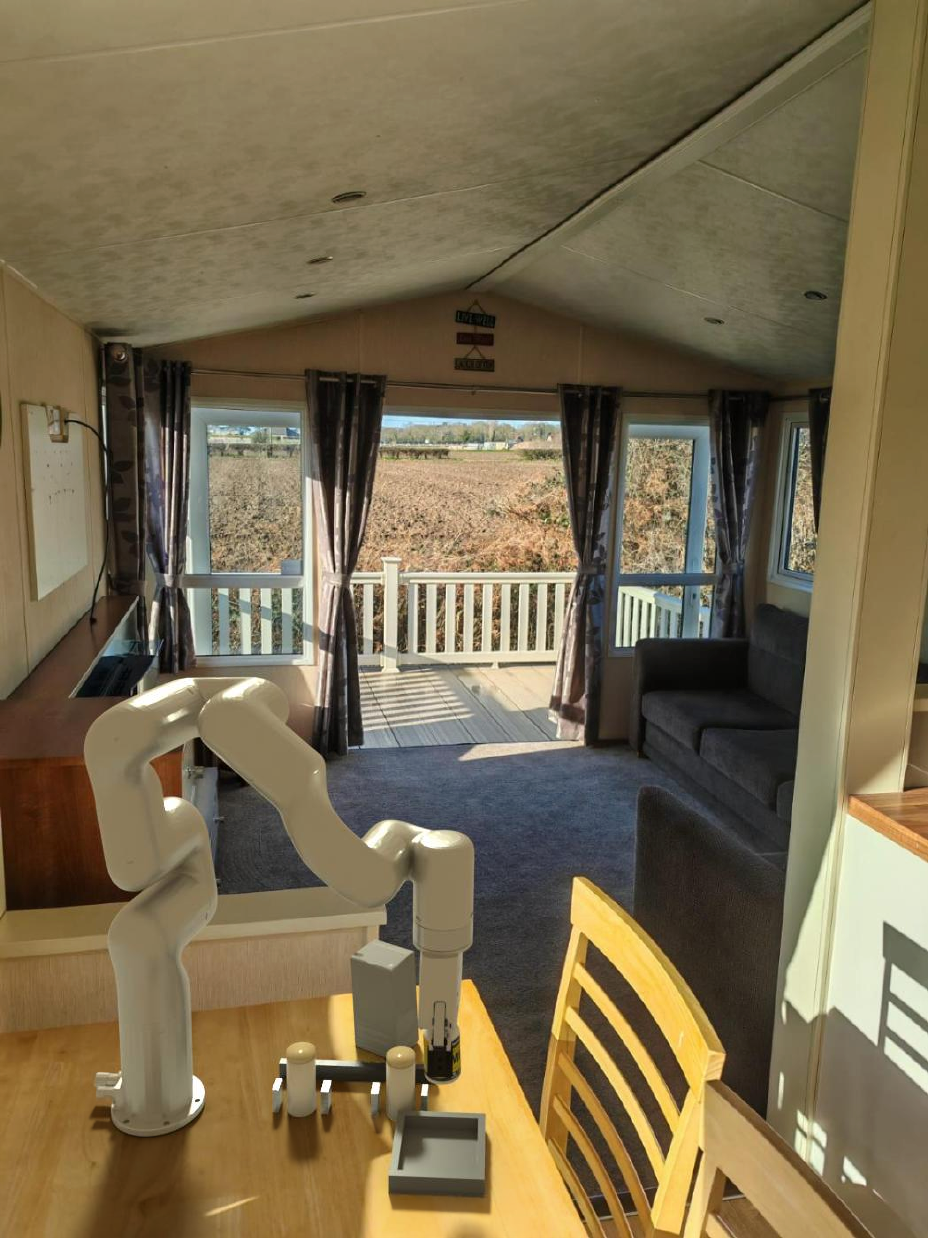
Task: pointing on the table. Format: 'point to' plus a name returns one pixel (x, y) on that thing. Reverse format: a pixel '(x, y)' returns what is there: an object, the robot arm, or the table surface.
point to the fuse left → (301, 1079)
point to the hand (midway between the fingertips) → (441, 1060)
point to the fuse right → (400, 1081)
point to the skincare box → (384, 997)
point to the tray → (438, 1154)
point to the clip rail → (352, 1073)
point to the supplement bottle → (456, 1056)
